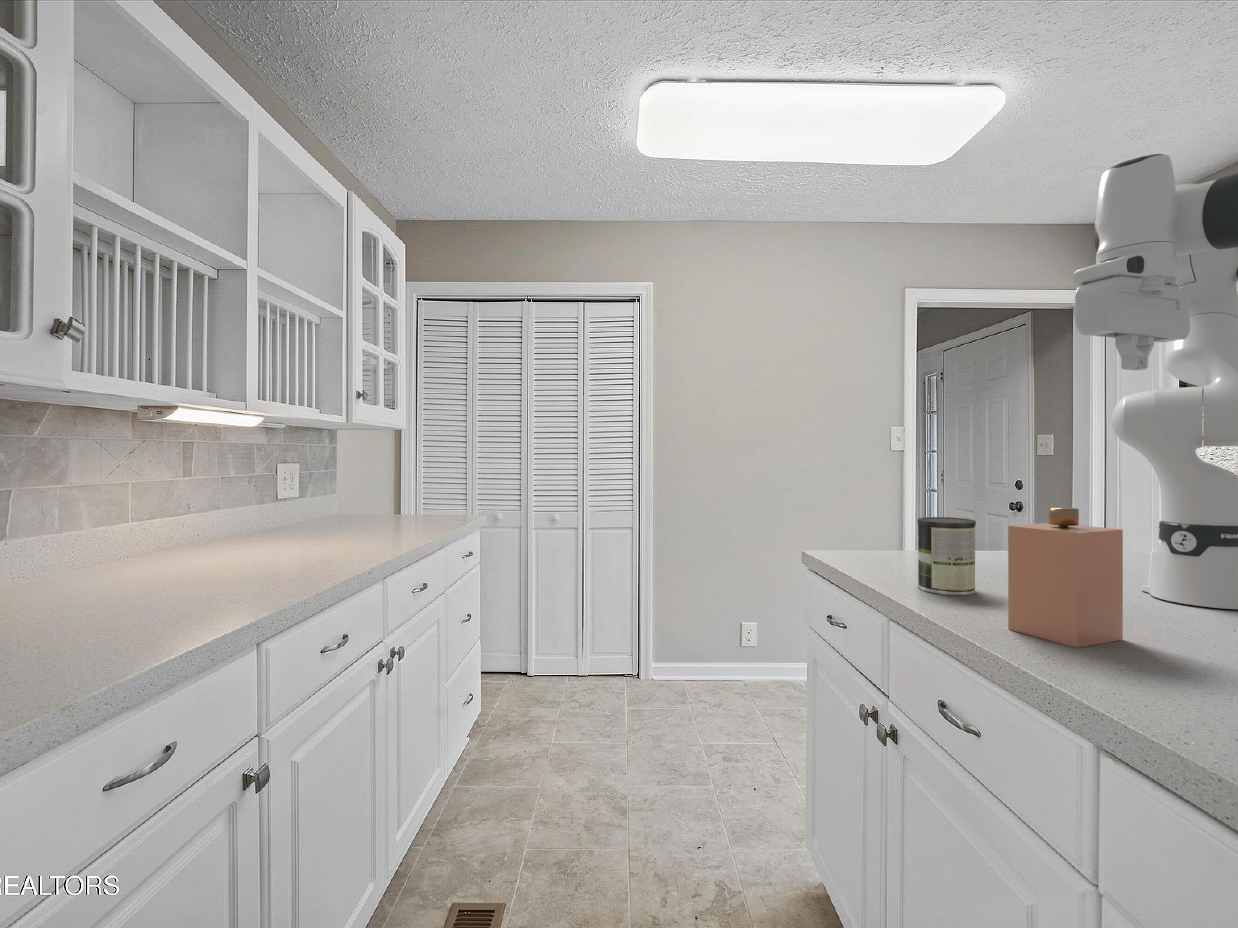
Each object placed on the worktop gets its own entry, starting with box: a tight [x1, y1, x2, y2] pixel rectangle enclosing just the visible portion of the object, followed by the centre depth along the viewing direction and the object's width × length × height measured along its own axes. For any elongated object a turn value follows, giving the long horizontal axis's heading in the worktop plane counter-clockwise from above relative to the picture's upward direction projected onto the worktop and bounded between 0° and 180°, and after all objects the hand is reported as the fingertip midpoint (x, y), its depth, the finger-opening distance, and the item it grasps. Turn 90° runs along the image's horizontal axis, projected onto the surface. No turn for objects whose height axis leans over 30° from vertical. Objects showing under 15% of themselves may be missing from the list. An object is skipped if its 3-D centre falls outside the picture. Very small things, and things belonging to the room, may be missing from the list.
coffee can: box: [916, 516, 977, 596], centre depth 122 cm, size 10×10×14 cm
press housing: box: [1007, 522, 1124, 649], centre depth 91 cm, size 10×10×16 cm
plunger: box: [1048, 506, 1080, 529], centre depth 91 cm, size 8×8×13 cm
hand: (1134, 369), depth 88 cm, fingers closed
